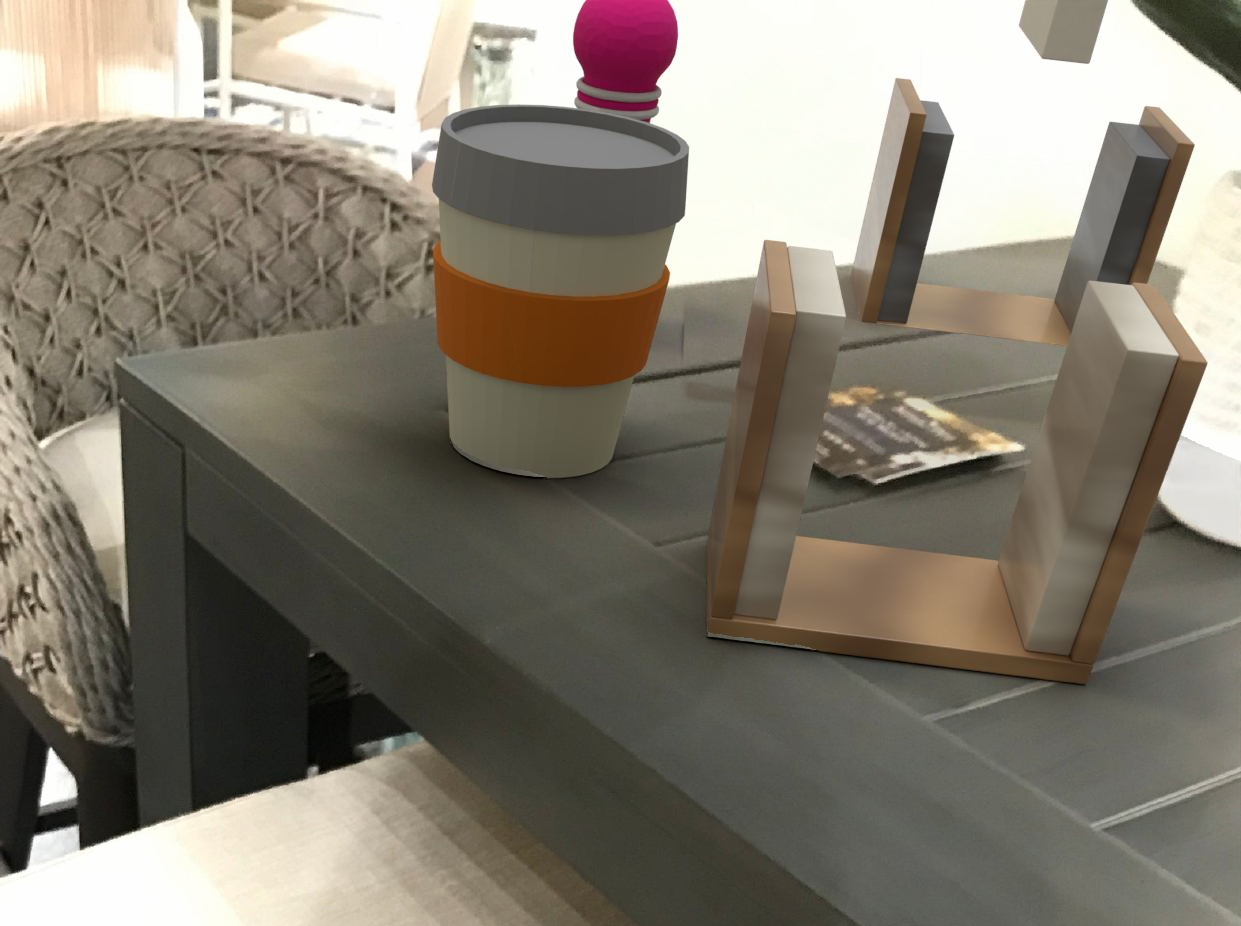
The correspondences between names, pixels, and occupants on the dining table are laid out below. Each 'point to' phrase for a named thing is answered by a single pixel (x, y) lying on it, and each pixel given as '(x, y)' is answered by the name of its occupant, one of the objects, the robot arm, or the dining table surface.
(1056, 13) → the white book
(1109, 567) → the white rack
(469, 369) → the reusable coffee cup
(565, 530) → the dining table surface
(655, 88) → the pepper mill
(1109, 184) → the grey rack
